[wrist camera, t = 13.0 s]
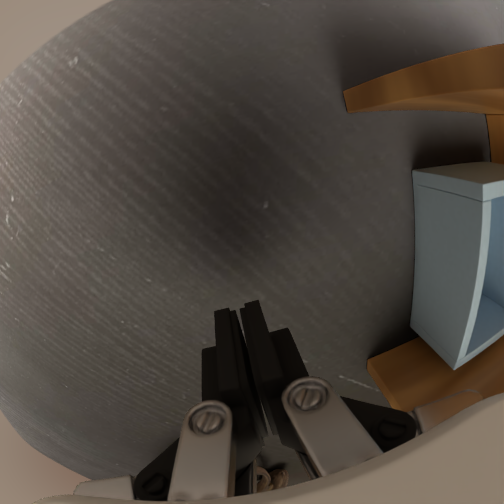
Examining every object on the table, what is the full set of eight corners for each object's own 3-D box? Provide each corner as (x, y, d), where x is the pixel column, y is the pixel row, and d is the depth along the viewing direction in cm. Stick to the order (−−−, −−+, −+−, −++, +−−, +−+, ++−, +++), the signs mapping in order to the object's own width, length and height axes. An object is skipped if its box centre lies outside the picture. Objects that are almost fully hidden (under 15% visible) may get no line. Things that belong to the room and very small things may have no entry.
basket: (411, 169, 14) (483, 183, 9) (483, 161, 14) (541, 172, 9) (409, 326, 18) (453, 371, 12) (476, 292, 18) (518, 322, 13)
